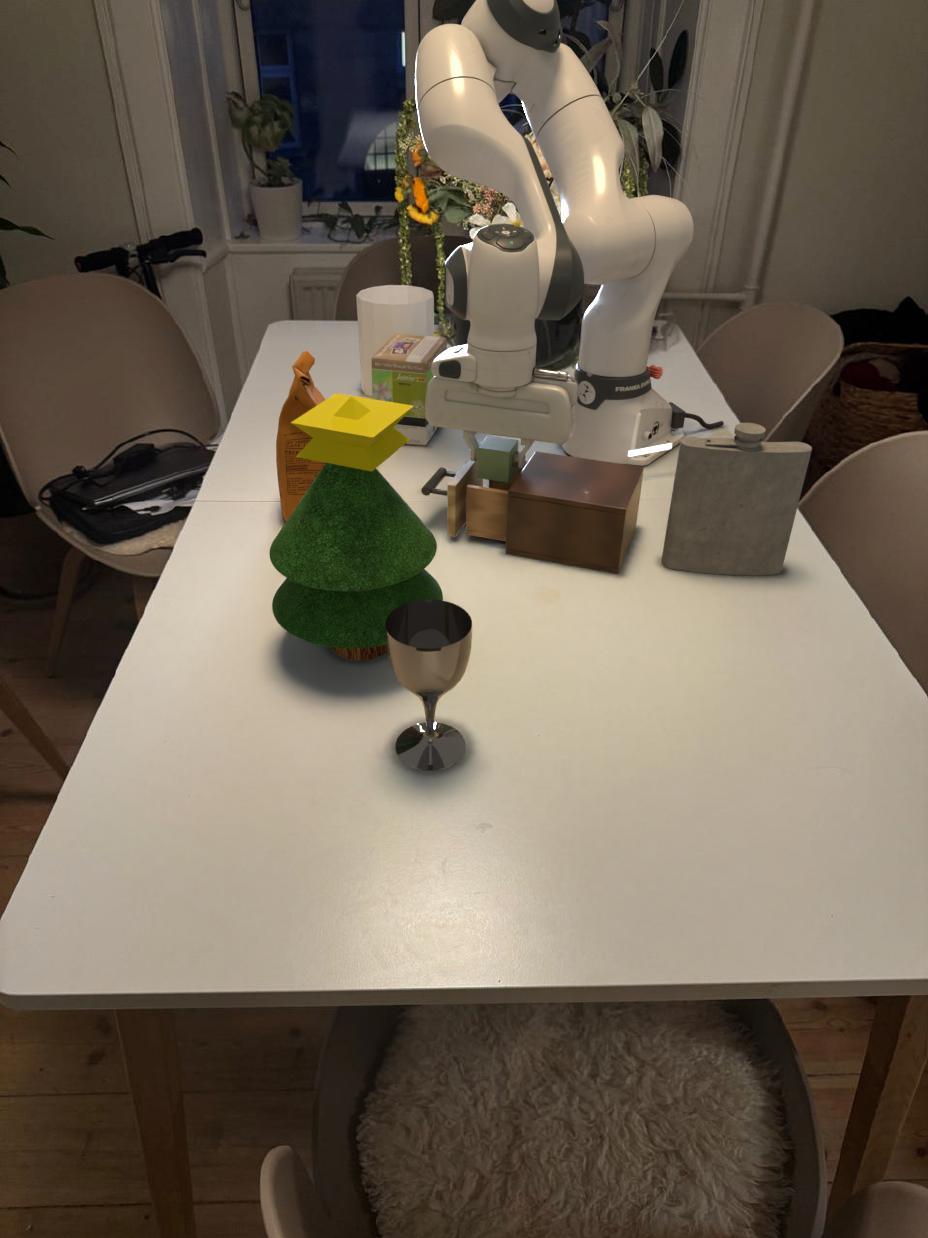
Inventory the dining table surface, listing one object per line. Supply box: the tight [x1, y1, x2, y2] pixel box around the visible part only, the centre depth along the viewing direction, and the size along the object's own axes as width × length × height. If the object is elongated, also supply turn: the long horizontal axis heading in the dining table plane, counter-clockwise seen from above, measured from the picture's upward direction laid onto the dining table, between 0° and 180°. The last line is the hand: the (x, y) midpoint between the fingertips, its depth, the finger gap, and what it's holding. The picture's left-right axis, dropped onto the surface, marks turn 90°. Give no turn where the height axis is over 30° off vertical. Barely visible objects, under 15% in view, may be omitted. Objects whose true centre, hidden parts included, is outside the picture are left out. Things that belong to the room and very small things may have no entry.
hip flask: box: [660, 422, 813, 576], centre depth 112 cm, size 16×4×20 cm, turn 85°
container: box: [355, 284, 435, 398], centre depth 169 cm, size 14×14×18 cm
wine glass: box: [385, 599, 473, 772], centre depth 84 cm, size 8×8×15 cm
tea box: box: [371, 334, 448, 446], centre depth 153 cm, size 15×10×15 cm, turn 168°
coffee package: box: [275, 350, 327, 522], centre depth 125 cm, size 10×12×22 cm
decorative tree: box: [268, 392, 444, 662], centre depth 94 cm, size 19×19×30 cm
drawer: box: [420, 456, 529, 542], centre depth 124 cm, size 19×12×8 cm, turn 71°
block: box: [477, 435, 519, 483], centre depth 121 cm, size 4×4×4 cm
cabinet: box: [505, 450, 645, 575], centre depth 121 cm, size 16×14×10 cm
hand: (497, 463), depth 121 cm, fingers closed on block, 4 cm apart
